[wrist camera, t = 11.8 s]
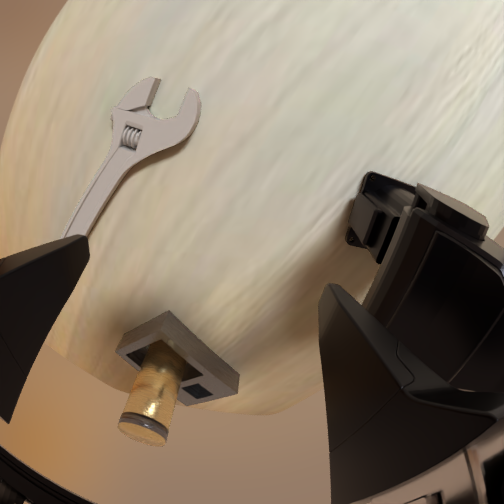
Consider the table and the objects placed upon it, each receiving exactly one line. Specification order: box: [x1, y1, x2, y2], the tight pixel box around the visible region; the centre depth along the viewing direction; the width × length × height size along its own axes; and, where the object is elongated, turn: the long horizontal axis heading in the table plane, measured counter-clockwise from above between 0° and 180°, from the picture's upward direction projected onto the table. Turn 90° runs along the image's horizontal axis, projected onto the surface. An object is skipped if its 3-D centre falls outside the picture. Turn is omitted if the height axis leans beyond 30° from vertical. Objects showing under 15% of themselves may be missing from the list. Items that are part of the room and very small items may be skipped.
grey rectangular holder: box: [115, 310, 240, 406], centre depth 30 cm, size 13×9×3 cm
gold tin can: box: [118, 339, 187, 446], centre depth 25 cm, size 5×5×12 cm
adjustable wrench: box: [60, 77, 201, 239], centre depth 21 cm, size 25×6×2 cm, turn 129°
